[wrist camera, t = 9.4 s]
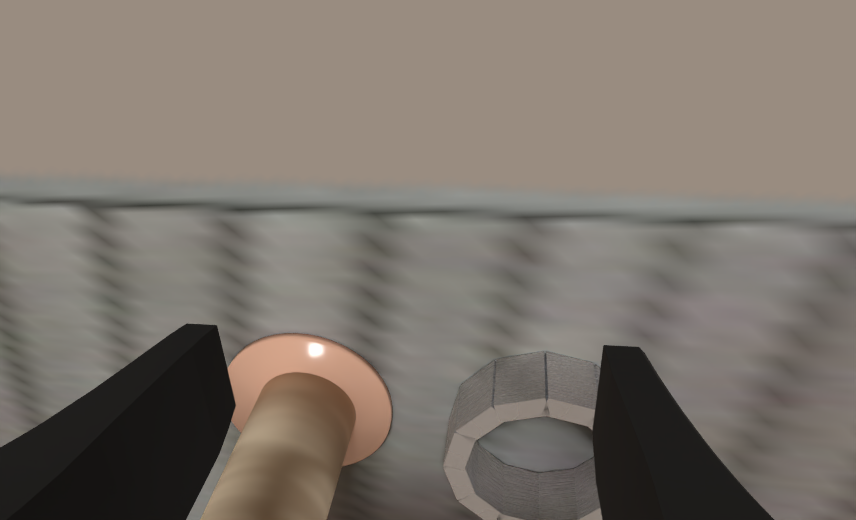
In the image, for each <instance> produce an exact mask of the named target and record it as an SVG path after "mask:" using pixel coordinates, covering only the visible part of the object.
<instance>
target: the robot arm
mask: <svg viewBox="0 0 856 520" xmlns="http://www.w3.org/2000/svg"><path fill="white" fill-rule="evenodd" d="M235 407H236V403H235V398H234V394H233V390H232V386H231V382H230V378H229V374H228V369H227V365H226V361H225V357H224V353H223V349H222V345H221V340H220V336H219V332H218V328H217V325H202V324H185V325H184V326H182V327H181V328H179V329H178V330H176V331H175V332H173V333H172V334H170V335H169V336H167V337H166V338H165V339H163V340H162V341H160V342H159V343H158V344H156V345H155V346H153V347H152V348H151V349H149V350H148V351H146V352H145V353H144V354H142V355H141V356H140V357H138V358H137V359H135V360H134V361H133V362H131V363H130V364H128V365H127V366H126V367H124V368H123V369H121V370H120V371H119V372H117V373H116V374H114V375H113V376H112V377H110V378H109V379H107V380H106V381H105V382H103V383H102V384H100V385H99V386H98V387H96V388H95V389H93V390H92V391H90V392H89V393H87V394H86V395H84V396H83V397H81V398H80V399H78V400H77V401H75V402H73V403H72V404H70V405H69V406H67V407H66V408H64V409H63V410H61V411H60V412H58V413H57V414H55V415H54V416H52V417H51V418H49V419H48V420H46V421H45V422H43V423H41V424H40V425H38V426H37V427H35V428H33V429H32V430H30V431H28V432H27V433H25V434H23V435H21V436H20V437H18V438H16V439H15V440H13V441H11V442H9V443H8V444H6V445H4V446H2V447H0V520H186V518H187V516H188V515H189V513H190V511H191V509H192V507H193V505H194V503H195V501H196V499H197V497H198V495H199V493H200V491H201V489H202V487H203V485H204V483H205V481H206V479H207V477H208V475H209V473H210V471H211V469H212V467H213V465H214V463H215V461H216V459H217V457H218V455H219V453H220V450H221V448H222V445H223V442H224V440H225V437H226V434H227V431H228V428H229V425H230V422H231V419H232V416H233V413H234V410H235ZM593 446H594V463H595V477H596V486H597V492H598V497H599V503H600V509H601V514H602V520H774V519H773V518H772V517H771V516H770V515H769V514H768V513H767V512H766V511H765V510H764V509H763V508H762V507H761V506H760V505H759V503H758V502H757V501H756V500H755V499H754V498H753V497H752V496H751V495H750V494H749V493H748V492H747V490H746V489H745V488H744V487H743V486H742V485H741V484H740V483H739V481H738V480H737V479H736V478H735V477H734V476H733V475H732V473H731V472H730V471H729V470H728V469H727V467H726V466H725V465H724V464H723V463H722V462H721V460H720V459H719V458H718V457H717V456H716V454H715V453H714V452H713V451H712V449H711V448H710V447H709V446H708V444H707V443H706V442H705V440H704V439H703V438H702V436H701V435H700V434H699V432H698V431H697V430H696V428H695V427H694V426H693V424H692V423H691V422H690V420H689V419H688V418H687V417H686V415H685V414H684V412H683V411H682V410H681V408H680V407H679V405H678V404H677V403H676V401H675V400H674V398H673V397H672V395H671V394H670V392H669V391H668V389H667V388H666V386H665V385H664V383H663V382H662V380H661V379H660V377H659V376H658V374H657V373H656V371H655V369H654V368H653V366H652V365H651V363H650V361H649V360H648V358H647V356H646V355H645V353H644V352H643V351H642V350H641V349H640V348H639V347H628V346H609V345H604V346H603V354H602V361H601V369H600V376H599V384H598V391H597V399H596V407H595V414H594V422H593Z"/></svg>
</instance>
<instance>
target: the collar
mask: <svg viewBox="0 0 856 520" xmlns="http://www.w3.org/2000/svg"><path fill="white" fill-rule="evenodd" d="M600 369H601V368H600V367H598V366H597V365H594V363H591V362H587V361H583V360H579V359H575V358H571V357H567V356H563V355H559V354H555V353H551V352H547V351H546V354H544V351H543V352H537V353H531V354H525V355H519V356H513V357H506V358H500V359H496V361H495V360H494V361H492V362H491V363H490V364H488V365H487V366H485V367H484V368H483V369H481V370H480V371H479V372H477V373H476V374H474V375H473V376H472V377H470V378H469V379H468V380H466V381H465V382H464V383H462V384H461V386H460V387H459V391H458V394H457V397H456V400H455V403H454V406H453V409H452V412H451V415H450V419H449V426H448V434H447V441H446V449H445V456H444V463H443V468H444V471H445V473H446V475H447V478H448V480H449V482H450V485H451V487H452V489H453V492H454V494H455V496H456V499H457V500H458V501H459V502H460V503H461V504H463V505H464V506H465V507H467V508H468V509H470V510H471V511H472V512H474V513H475V514H477V515H478V516H479V517H481V518H482V519H483V520H602V514H601V509H600V503H599V497H598V492H597V486H596V477H595V463H594V457H593V458H592V459H590V460H588V461H587V462H585V463H583V464H581V465H580V466H578V467H576V468H575V469H568V470H560V471H552V472H543V473H537V472H533V471H529V470H525V469H520V468H516V467H512V466H508V465H505V464H503V463H502V462H501V461H499V460H498V459H497V458H495V457H494V456H493V455H491V454H490V453H489V452H488V451H486V450H485V449H484V448H482V447H481V446H480V445H479V443H478V439H479V438H481V437H482V436H484V435H485V434H487V433H488V432H490V431H491V430H493V429H494V428H496V427H497V426H499V425H500V424H502V423H503V422H506V421H513V420H521V419H528V418H535V417H542V416H548V417H552V418H556V419H560V420H564V421H568V422H572V423H576V424H580V425H584V426H588V427H589V428H590V429H591V430H592V431H593V422H594V414H595V407H596V399H597V391H598V384H599V376H600Z"/></svg>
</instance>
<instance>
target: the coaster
mask: <svg viewBox="0 0 856 520" xmlns="http://www.w3.org/2000/svg"><path fill="white" fill-rule="evenodd" d="M292 372H301V373H309V374H314V375H317V376H320V377H323V378H325V379H327V380H329V381H331V382H333V383H334V384H336V385H337V386H339V387H340V388H341V389H342V390H343V391H344V392H345V393H346V394H347V395H348V396H349V398H350V399H351V401H352V403H353V405H354V408H355V413H356V420H355V424H354V427H353V431H352V434H351V438H350V441H349V445H348V448H347V452H346V455H345V458H344V462H343V465H342V466H346V465H350V464H353V463H356V462H358V461H361V460H363V459H365V458H366V457H368V456H370V455H371V454H372V453H374V452H375V451H376V450H377V449H378V448H379V447H380V446H381V444H382V443H383V442H384V440H385V438H386V437H387V434H388V431H389V429H390V424H391V419H392V401H391V396H390V394H389V391H388V388H387V386H386V384H385V383H384V381H383V379H382V378H381V376H380V375H379V374H378V372H377V371H376V370H375V369H374V368H373V367H372V366H371V365H370V364H369V363H368V362H367V361H366V360H365V359H364V358H362V357H361V356H360V355H358V354H357V353H355V352H354V351H352V350H351V349H349V348H347V347H345V346H343V345H341V344H339V343H336V342H334V341H332V340H329V339H325V338H322V337H319V336H314V335H309V334H299V333H284V334H276V335H271V336H267V337H263V338H261V339H258V340H256V341H254V342H252V343H250V344H249V345H247V346H246V347H244V348H243V349H242V350H241V351H240V352H239V353H238V354H237V355H236V356H235V357H234V359H233V360H232V362H231V364H230V366H229V367H228V374H229V378H230V382H231V386H232V390H233V394H234V398H235V403H236V407H235V410H234V413H233V416H232V419H231V420H232V422H233V423H234V425H235V426H236V428H237V429H238V430H239V431H240V432H241V433H242V431H243V428H244V426H245V424H246V422H247V420H248V418H249V416H250V414H251V412H252V409H253V407H254V405H255V403H256V401H257V399H258V397H259V395H260V392H261V390H262V389H263V387H264V386H265V384H266V383H267V382H268V381H270V380H271V379H272V378H274V377H276V376H279V375H282V374H285V373H292Z"/></svg>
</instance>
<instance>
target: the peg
mask: <svg viewBox="0 0 856 520" xmlns="http://www.w3.org/2000/svg"><path fill="white" fill-rule="evenodd" d="M355 420H356V413H355V408H354V405H353V403H352V401H351V399H350V398H349V396H348V395H347V394H346V393H345V392H344V391H343V390H342V389H341V388H340V387H339V386H337V385H336V384H334V383H333V382H331V381H329V380H327V379H325V378H323V377H320V376H317V375H314V374H309V373H301V372H292V373H285V374H282V375H279V376H276V377H274V378H272V379H271V380H270V381H268V382H267V383H266V384H265V386H264V387H263V389H262V390H261V392H260V395H259V397H258V399H257V401H256V403H255V405H254V407H253V409H252V412H251V414H250V416H249V418H248V420H247V422H246V424H245V426H244V428H243V431H242V433H241V435H240V437H239V439H238V441H237V443H236V445H235V447H234V450H233V452H232V454H231V456H230V458H229V460H228V462H227V464H226V467H225V469H224V471H223V473H222V475H221V477H220V479H219V481H218V483H217V486H216V488H215V490H214V492H213V494H212V496H211V498H210V500H209V502H208V505H207V507H206V509H205V511H204V513H203V515H202V517H201V519H200V520H327V517H328V513H329V510H330V507H331V503H332V500H333V496H334V493H335V489H336V486H337V482H338V479H339V476H340V472H341V469H342V465H343V462H344V458H345V455H346V452H347V448H348V445H349V441H350V438H351V434H352V431H353V427H354V424H355Z"/></svg>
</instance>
